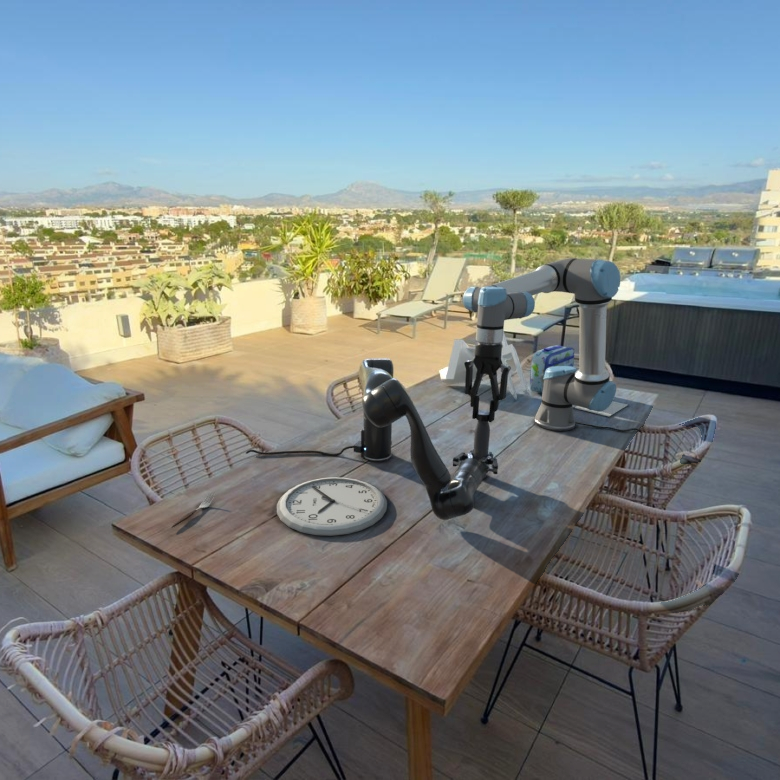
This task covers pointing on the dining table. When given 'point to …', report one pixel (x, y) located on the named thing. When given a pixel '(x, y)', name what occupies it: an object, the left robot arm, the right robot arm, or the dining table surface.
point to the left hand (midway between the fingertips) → (482, 453)
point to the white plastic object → (464, 353)
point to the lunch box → (548, 363)
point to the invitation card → (609, 411)
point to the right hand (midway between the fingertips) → (483, 419)
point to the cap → (482, 415)
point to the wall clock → (331, 506)
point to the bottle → (481, 440)
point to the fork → (203, 505)
